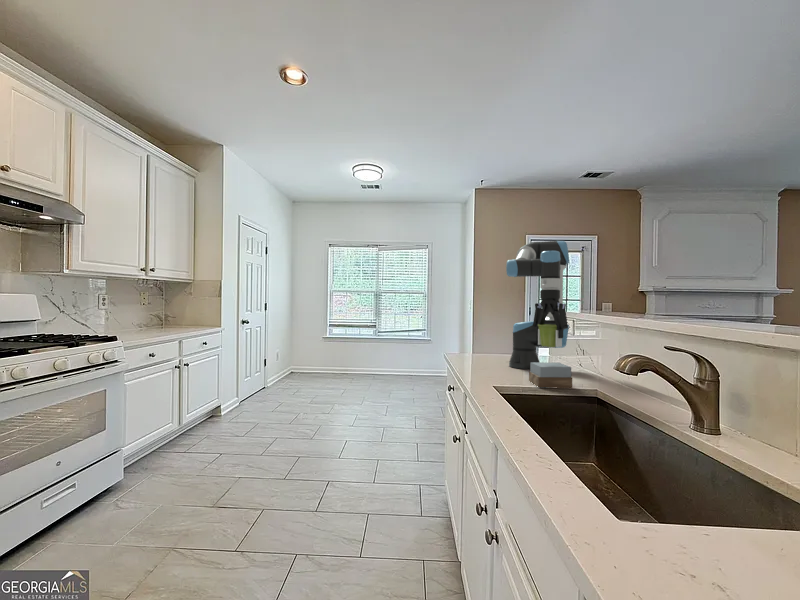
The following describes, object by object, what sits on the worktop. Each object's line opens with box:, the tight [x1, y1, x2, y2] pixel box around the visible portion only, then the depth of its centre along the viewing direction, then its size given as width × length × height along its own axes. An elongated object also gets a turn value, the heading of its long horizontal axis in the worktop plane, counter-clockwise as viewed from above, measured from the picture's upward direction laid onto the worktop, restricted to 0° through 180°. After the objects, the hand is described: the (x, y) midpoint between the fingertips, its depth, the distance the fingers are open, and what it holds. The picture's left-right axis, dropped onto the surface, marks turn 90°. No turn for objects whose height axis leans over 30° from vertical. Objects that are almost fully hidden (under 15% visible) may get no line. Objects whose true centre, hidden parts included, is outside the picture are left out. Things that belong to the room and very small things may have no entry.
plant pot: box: [538, 324, 557, 348], centre depth 167 cm, size 9×9×9 cm
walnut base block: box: [528, 371, 573, 389], centre depth 167 cm, size 13×13×4 cm
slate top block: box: [529, 361, 572, 377], centre depth 167 cm, size 12×12×4 cm
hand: (549, 345), depth 167 cm, fingers closed on plant pot, 8 cm apart
